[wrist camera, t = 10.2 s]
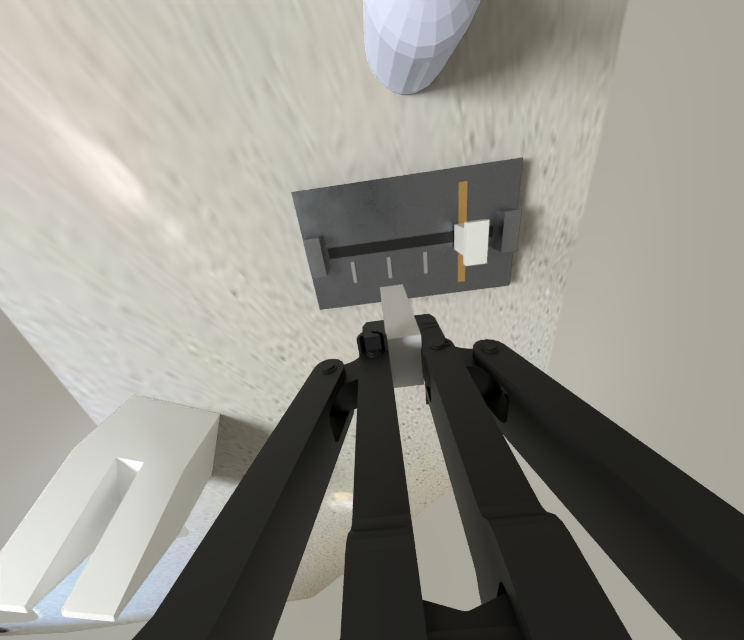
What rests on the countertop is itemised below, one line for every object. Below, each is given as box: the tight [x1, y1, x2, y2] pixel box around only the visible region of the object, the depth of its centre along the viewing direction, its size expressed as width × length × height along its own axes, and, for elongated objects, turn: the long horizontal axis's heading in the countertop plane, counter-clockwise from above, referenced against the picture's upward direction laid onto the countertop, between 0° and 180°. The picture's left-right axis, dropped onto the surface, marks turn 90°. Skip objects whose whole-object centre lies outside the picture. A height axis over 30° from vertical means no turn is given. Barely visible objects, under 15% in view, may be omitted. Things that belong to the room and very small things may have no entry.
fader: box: [454, 219, 489, 266], centre depth 32 cm, size 5×2×5 cm, turn 8°
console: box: [291, 158, 523, 310], centre depth 35 cm, size 16×28×4 cm, turn 98°
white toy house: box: [0, 394, 220, 622], centre depth 43 cm, size 19×15×25 cm
